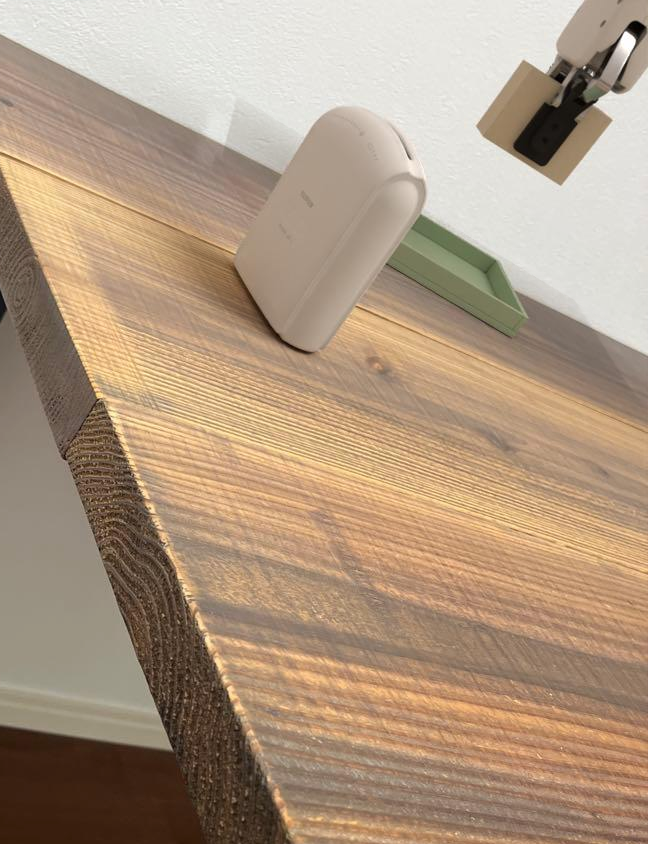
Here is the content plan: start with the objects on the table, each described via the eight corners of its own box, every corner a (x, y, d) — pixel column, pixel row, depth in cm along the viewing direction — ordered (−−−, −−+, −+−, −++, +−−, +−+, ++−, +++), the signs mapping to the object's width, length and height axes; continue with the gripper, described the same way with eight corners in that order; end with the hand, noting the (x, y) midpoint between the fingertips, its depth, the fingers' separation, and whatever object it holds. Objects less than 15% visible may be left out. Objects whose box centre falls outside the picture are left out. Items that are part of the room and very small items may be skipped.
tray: (485, 279, 101) (499, 261, 100) (512, 338, 89) (529, 318, 87) (364, 206, 99) (378, 187, 98) (375, 257, 87) (390, 235, 85)
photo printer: (221, 255, 67) (331, 75, 61) (273, 277, 69) (385, 105, 63) (271, 342, 60) (401, 148, 53) (327, 363, 62) (461, 179, 55)
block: (475, 126, 89) (523, 59, 85) (551, 174, 90) (601, 110, 87) (482, 136, 85) (532, 67, 82) (561, 186, 86) (613, 120, 83)
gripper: (770, -34, 71) (580, 200, 81) (692, -53, 85) (538, 150, 95) (683, -95, 70) (502, 151, 80) (619, -103, 84) (471, 107, 94)
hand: (523, 148), depth 87 cm, fingers closed on block, 4 cm apart
